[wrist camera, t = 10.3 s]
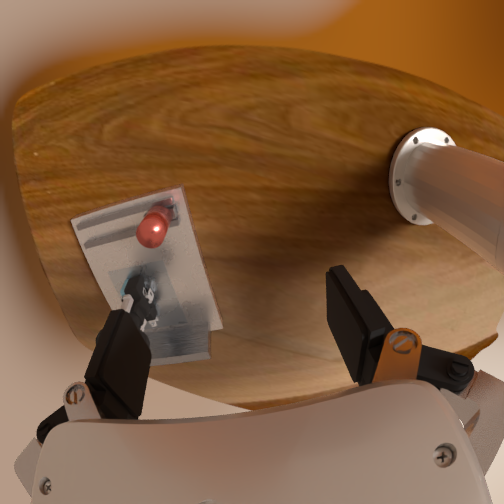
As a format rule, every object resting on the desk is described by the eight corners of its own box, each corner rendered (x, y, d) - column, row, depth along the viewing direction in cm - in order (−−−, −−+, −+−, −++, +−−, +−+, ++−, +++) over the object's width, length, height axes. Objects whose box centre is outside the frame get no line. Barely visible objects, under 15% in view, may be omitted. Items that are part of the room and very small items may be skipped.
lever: (172, 198, 25) (162, 217, 20) (179, 221, 26) (171, 244, 22) (143, 206, 25) (128, 225, 20) (150, 228, 26) (138, 251, 22)
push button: (175, 313, 31) (166, 381, 23) (138, 322, 32) (120, 386, 23) (151, 267, 28) (128, 332, 19) (112, 280, 28) (81, 342, 20)
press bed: (182, 183, 26) (172, 203, 20) (222, 320, 35) (224, 358, 29) (76, 215, 26) (48, 240, 20) (133, 334, 34) (123, 370, 29)
